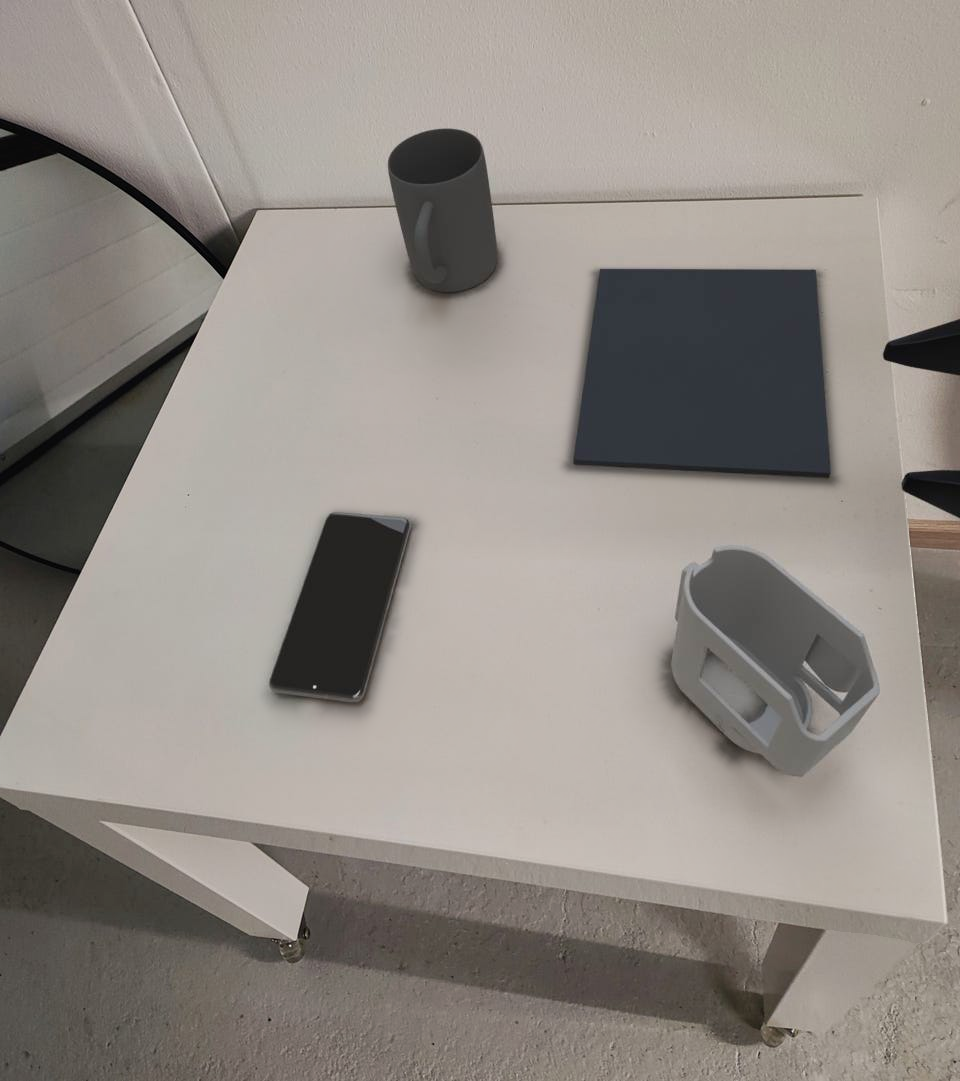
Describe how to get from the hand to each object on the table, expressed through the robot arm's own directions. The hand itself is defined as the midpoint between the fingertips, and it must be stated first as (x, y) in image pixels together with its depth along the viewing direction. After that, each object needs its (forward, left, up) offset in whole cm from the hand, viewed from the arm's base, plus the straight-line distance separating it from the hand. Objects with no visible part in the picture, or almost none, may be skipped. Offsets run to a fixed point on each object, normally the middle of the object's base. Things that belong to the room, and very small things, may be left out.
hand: (893, 412), depth 43 cm
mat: (+9, -22, -19) cm, 30 cm away
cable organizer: (+5, +10, -19) cm, 22 cm away
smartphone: (+35, +5, -19) cm, 40 cm away
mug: (+34, -33, -19) cm, 51 cm away
